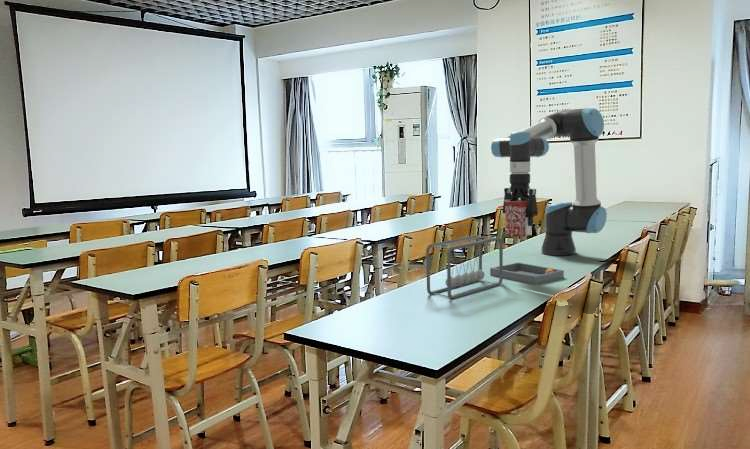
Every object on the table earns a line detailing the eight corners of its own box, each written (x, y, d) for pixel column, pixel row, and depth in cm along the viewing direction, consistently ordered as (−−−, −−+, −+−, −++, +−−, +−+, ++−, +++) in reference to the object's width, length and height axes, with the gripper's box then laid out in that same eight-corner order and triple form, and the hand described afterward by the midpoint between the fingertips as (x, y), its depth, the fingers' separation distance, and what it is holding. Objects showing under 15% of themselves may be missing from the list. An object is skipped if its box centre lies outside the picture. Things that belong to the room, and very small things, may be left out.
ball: (549, 275, 225) (549, 267, 225) (555, 277, 223) (556, 268, 222) (543, 277, 224) (543, 268, 223) (550, 278, 221) (550, 269, 221)
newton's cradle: (449, 300, 197) (448, 247, 195) (426, 295, 205) (425, 244, 202) (503, 284, 217) (503, 236, 215) (480, 280, 225) (479, 234, 222)
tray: (518, 270, 240) (518, 262, 239) (563, 279, 222) (563, 270, 221) (490, 276, 231) (490, 267, 230) (535, 285, 213) (535, 276, 212)
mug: (521, 238, 219) (521, 201, 217) (499, 236, 225) (499, 200, 223) (537, 233, 228) (538, 198, 226) (516, 232, 234) (516, 198, 233)
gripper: (492, 173, 230) (492, 231, 232) (535, 174, 213) (534, 236, 216) (506, 172, 234) (505, 229, 237) (548, 173, 217) (548, 234, 220)
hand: (519, 233), depth 226 cm, fingers closed on mug, 8 cm apart
